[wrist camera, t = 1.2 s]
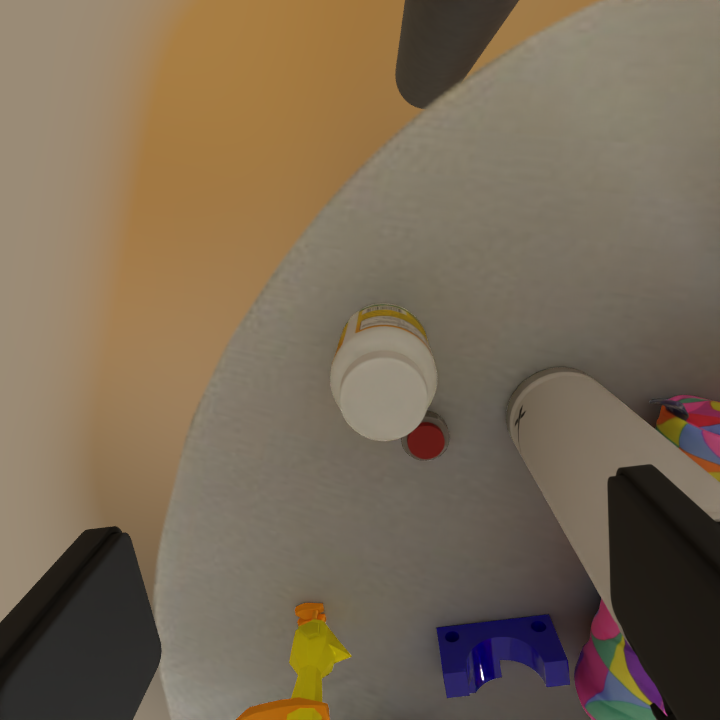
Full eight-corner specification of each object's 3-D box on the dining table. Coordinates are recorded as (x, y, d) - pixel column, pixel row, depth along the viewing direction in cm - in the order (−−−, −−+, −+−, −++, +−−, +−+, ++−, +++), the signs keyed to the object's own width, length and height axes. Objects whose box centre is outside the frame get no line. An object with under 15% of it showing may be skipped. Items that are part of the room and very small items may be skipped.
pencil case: (629, 365, 33) (718, 423, 24) (780, 385, 33) (924, 450, 24) (548, 650, 39) (597, 777, 31) (677, 666, 39) (762, 797, 31)
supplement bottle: (388, 283, 32) (393, 316, 23) (444, 350, 33) (470, 407, 24) (321, 340, 33) (299, 393, 24) (377, 403, 34) (377, 476, 25)
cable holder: (442, 666, 40) (449, 715, 36) (436, 627, 39) (442, 674, 35) (552, 653, 39) (571, 702, 35) (548, 614, 38) (568, 660, 34)
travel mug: (480, 411, 34) (611, 679, 15) (566, 345, 33) (832, 548, 14) (539, 479, 35) (731, 807, 16) (625, 418, 34) (946, 698, 15)
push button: (426, 401, 34) (428, 410, 33) (457, 434, 35) (460, 444, 33) (391, 431, 35) (391, 441, 33) (421, 462, 35) (423, 473, 34)
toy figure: (268, 639, 40) (224, 817, 28) (257, 599, 39) (206, 766, 27) (359, 627, 39) (351, 804, 28) (349, 586, 38) (338, 751, 27)
